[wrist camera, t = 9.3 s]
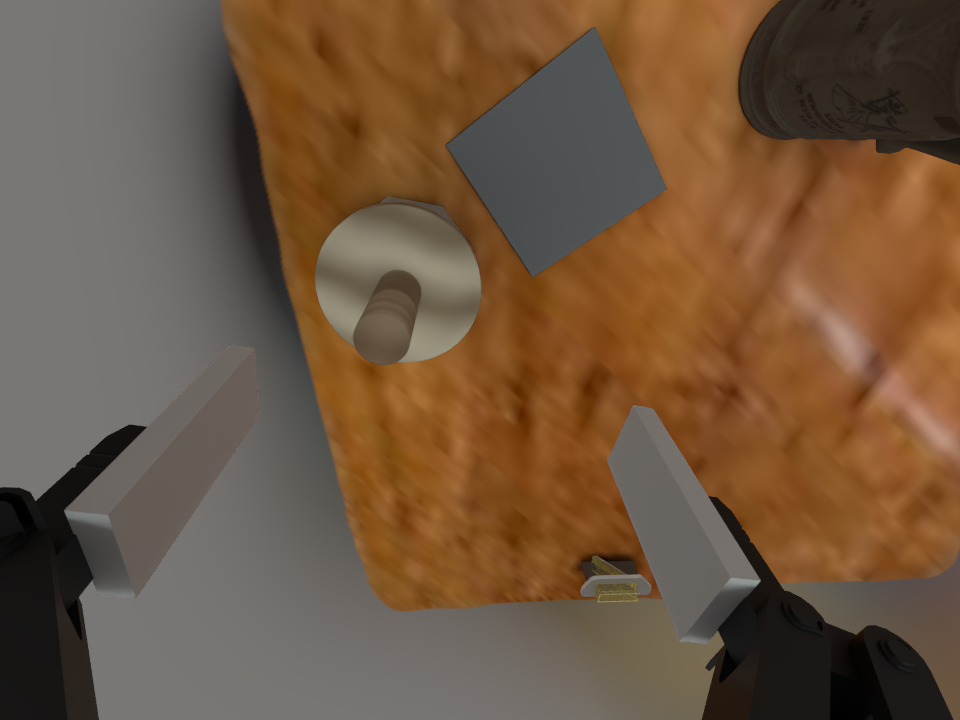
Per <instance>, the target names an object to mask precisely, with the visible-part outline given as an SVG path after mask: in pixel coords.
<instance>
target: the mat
mask: <svg viewBox="0 0 960 720" xmlns="http://www.w3.org/2000/svg"><path fill="white" fill-rule="evenodd" d="M446 146H447V148H448V149H449V151H450V152H451V154H452V155H453V157H454V158H455V160H456V161H457V163H458V164H459V166H460V167H461V169H462V170H463V172H464V173H465V175H466V176H467V178H468V180H469V181H470V183H471V184H472V186H473V187H474V189H475V190H476V192H477V193H478V195H479V196H480V198H481V199H482V201H483V202H484V204H485V205H486V207H487V208H488V210H489V211H490V213H491V215H492V216H493V218H494V219H495V221H496V222H497V224H498V225H499V227H500V228H501V230H502V231H503V233H504V234H505V236H506V237H507V239H508V240H509V242H510V243H511V245H512V246H513V248H514V250H515V251H516V253H517V254H518V256H519V257H520V259H521V260H522V262H523V263H524V265H525V266H526V268H527V269H528V271H529V272H530V274H531V275H532V277H534V276H536V275H537V274H539V273H540V272H542V271H543V270H545V269H546V268H548V267H549V266H551V265H552V264H554V263H555V262H557V261H558V260H560V259H561V258H563V257H564V256H566V255H567V254H569V253H571V252H572V251H574V250H575V249H577V248H578V247H580V246H581V245H583V244H584V243H586V242H587V241H589V240H590V239H592V238H593V237H595V236H596V235H598V234H599V233H601V232H603V231H604V230H606V229H607V228H609V227H610V226H612V225H613V224H615V223H616V222H618V221H619V220H621V219H622V218H624V217H625V216H627V215H628V214H630V213H631V212H633V211H634V210H636V209H638V208H639V207H641V206H642V205H644V204H645V203H647V202H648V201H650V200H651V199H653V198H654V197H656V196H657V195H659V194H660V193H662V192H663V191H665V190H666V189H667V188H666V186H665V184H664V181H663V179H662V177H661V175H660V172H659V170H658V168H657V166H656V163H655V161H654V159H653V157H652V154H651V152H650V150H649V148H648V145H647V143H646V141H645V138H644V136H643V134H642V132H641V129H640V127H639V125H638V123H637V120H636V118H635V116H634V114H633V111H632V109H631V107H630V105H629V102H628V100H627V98H626V95H625V93H624V91H623V89H622V86H621V84H620V82H619V80H618V77H617V75H616V73H615V71H614V68H613V66H612V64H611V62H610V59H609V57H608V55H607V53H606V50H605V48H604V46H603V43H602V41H601V39H600V37H599V34H598V32H597V30H596V28H595V27H594V28H592V29H591V30H590V31H589V32H587V33H586V34H585V35H584V36H582V37H581V38H580V39H579V40H577V41H576V42H575V43H574V44H572V45H571V46H570V47H569V48H567V49H566V50H565V51H563V52H562V53H561V54H560V55H558V56H557V57H556V58H555V59H553V60H552V61H551V62H550V63H548V64H547V65H546V66H545V67H543V68H542V69H541V70H540V71H538V72H537V73H536V74H535V75H533V76H532V77H531V78H530V79H528V80H527V81H526V82H525V83H523V84H522V85H521V86H520V87H518V88H517V89H516V90H514V91H513V92H512V93H511V94H509V95H508V96H507V97H506V98H504V99H503V100H502V101H501V102H499V103H498V104H497V105H496V106H494V107H493V108H492V109H491V110H489V111H488V112H487V113H486V114H484V115H483V116H482V117H481V118H479V119H478V120H477V121H476V122H474V123H473V124H472V125H470V126H469V127H468V128H467V129H465V130H464V131H463V132H462V133H460V134H459V135H458V136H457V137H455V138H454V139H453V140H452V141H450V142H449V143H448V144H447V145H446Z"/></svg>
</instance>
